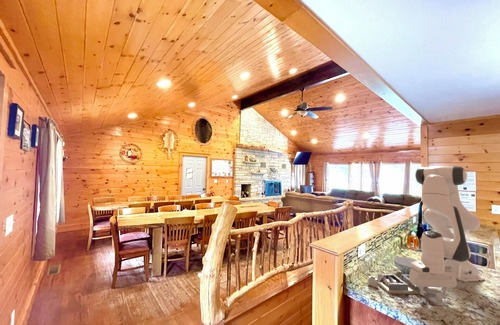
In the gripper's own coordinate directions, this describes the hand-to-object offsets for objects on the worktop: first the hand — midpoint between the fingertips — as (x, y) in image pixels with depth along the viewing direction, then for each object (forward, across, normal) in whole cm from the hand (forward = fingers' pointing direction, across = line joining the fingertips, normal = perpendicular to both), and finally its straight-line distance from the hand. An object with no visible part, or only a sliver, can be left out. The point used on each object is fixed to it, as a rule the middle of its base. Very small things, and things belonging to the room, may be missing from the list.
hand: (432, 295), depth 103 cm
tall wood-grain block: (+3, 0, 0) cm, 3 cm away
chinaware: (+3, -7, -26) cm, 27 cm away
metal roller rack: (+3, +6, -11) cm, 13 cm away
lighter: (+3, +21, -11) cm, 24 cm away
